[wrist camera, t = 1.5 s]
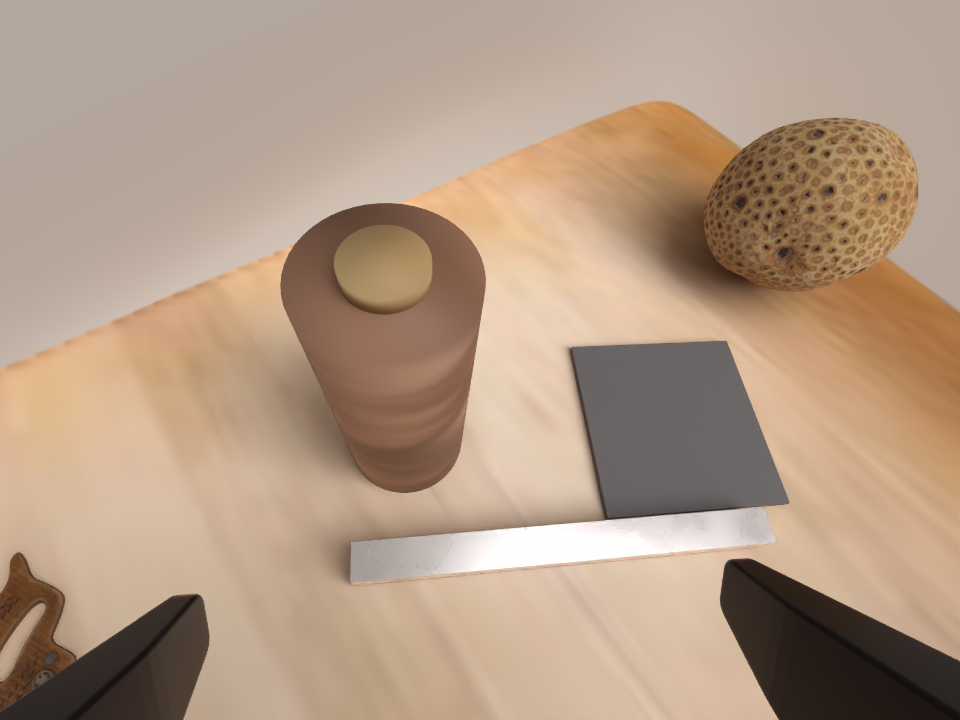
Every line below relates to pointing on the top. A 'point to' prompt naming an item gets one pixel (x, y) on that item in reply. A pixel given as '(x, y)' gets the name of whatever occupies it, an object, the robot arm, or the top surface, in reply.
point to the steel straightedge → (556, 545)
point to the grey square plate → (673, 430)
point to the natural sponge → (812, 203)
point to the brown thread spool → (390, 334)
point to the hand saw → (40, 649)
